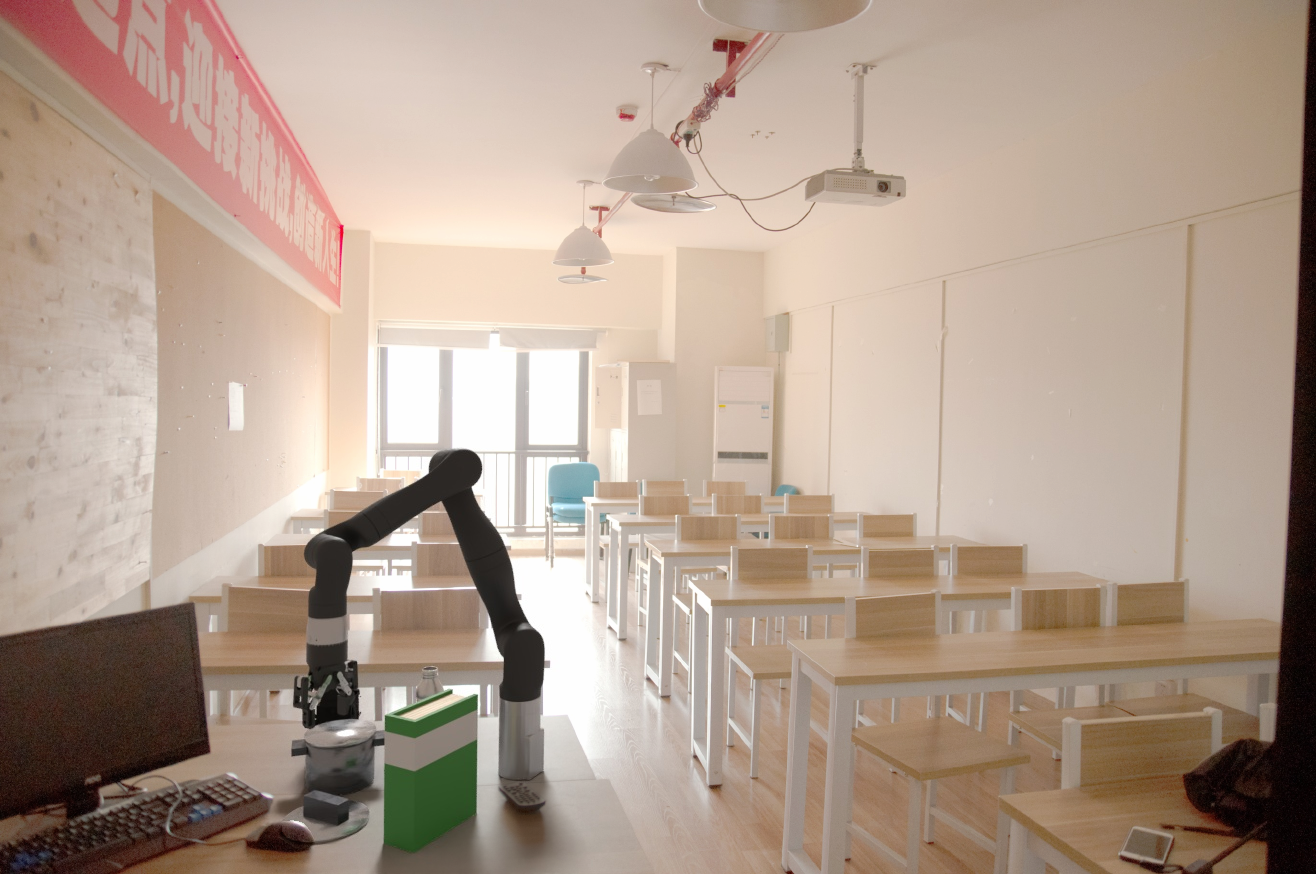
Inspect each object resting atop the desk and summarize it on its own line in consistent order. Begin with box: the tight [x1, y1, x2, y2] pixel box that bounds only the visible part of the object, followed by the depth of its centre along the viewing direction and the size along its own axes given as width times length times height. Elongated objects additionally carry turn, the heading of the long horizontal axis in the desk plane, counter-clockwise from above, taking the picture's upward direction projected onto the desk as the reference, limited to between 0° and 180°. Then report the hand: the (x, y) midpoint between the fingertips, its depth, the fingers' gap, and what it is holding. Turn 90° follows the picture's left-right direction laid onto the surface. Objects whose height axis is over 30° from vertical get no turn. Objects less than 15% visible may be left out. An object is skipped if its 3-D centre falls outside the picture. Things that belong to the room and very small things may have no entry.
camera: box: [315, 674, 362, 726], centre depth 200 cm, size 10×14×20 cm
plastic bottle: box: [414, 666, 445, 702], centre depth 198 cm, size 6×7×20 cm
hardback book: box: [383, 688, 479, 854], centre depth 162 cm, size 18×7×24 cm, turn 153°
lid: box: [281, 790, 370, 843], centre depth 164 cm, size 16×16×5 cm
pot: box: [290, 719, 385, 796], centre depth 182 cm, size 19×15×11 cm
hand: (326, 721), depth 163 cm, fingers open, 8 cm apart
